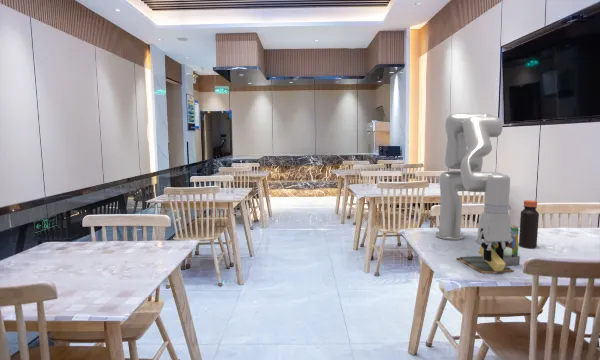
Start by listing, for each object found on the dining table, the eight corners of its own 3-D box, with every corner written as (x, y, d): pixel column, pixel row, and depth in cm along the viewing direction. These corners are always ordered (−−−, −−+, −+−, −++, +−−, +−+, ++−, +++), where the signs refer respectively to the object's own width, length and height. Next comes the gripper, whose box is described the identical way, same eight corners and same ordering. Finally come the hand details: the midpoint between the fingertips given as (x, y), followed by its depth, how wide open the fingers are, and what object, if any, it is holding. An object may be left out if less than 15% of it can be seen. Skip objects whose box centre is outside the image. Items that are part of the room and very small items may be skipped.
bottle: (519, 247, 162) (522, 201, 160) (517, 243, 169) (520, 199, 166) (538, 249, 160) (541, 202, 158) (534, 245, 166) (538, 200, 164)
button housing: (489, 259, 145) (490, 252, 145) (506, 258, 147) (506, 251, 146) (502, 265, 139) (502, 257, 138) (519, 264, 140) (519, 257, 139)
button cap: (495, 256, 144) (495, 246, 144) (505, 256, 145) (506, 246, 145) (503, 260, 140) (503, 250, 139) (514, 260, 141) (515, 249, 140)
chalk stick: (494, 271, 131) (478, 251, 139) (502, 270, 131) (486, 251, 140) (497, 264, 129) (481, 245, 138) (505, 263, 130) (489, 244, 138)
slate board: (456, 259, 146) (456, 256, 146) (484, 257, 148) (484, 255, 148) (482, 273, 130) (482, 270, 130) (513, 271, 132) (513, 268, 132)
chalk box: (517, 256, 150) (520, 219, 149) (493, 254, 152) (495, 218, 151) (509, 249, 159) (512, 215, 158) (486, 248, 161) (488, 214, 160)
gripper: (510, 206, 137) (506, 255, 139) (467, 208, 134) (465, 258, 136) (525, 210, 130) (521, 262, 131) (481, 212, 127) (478, 264, 129)
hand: (493, 259), depth 134 cm, fingers open, 4 cm apart
